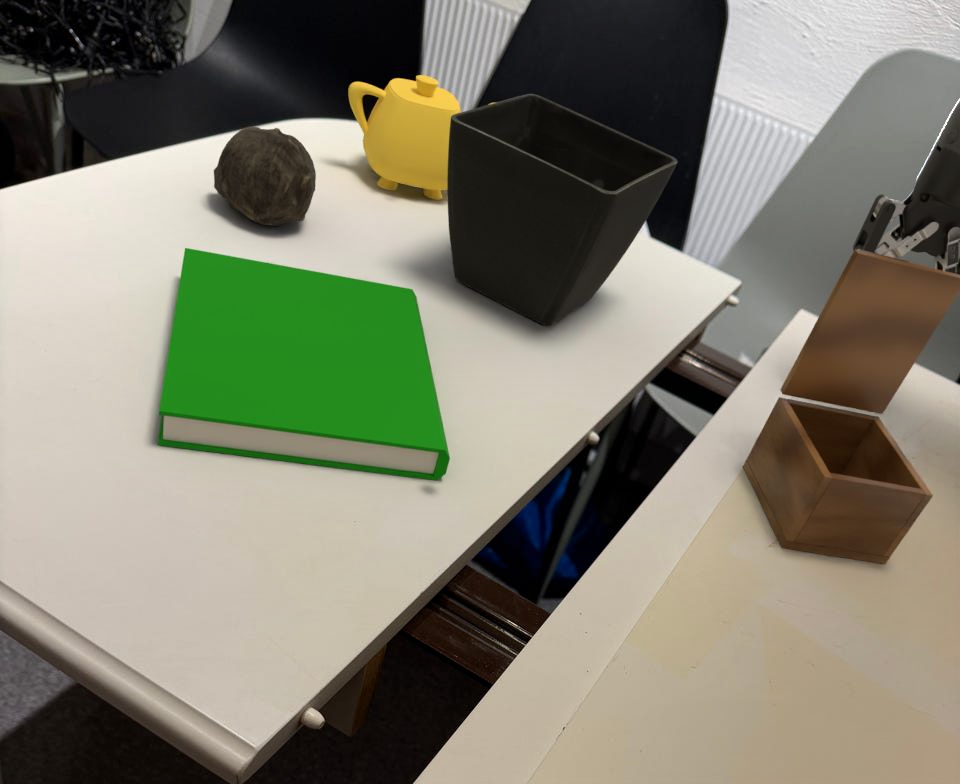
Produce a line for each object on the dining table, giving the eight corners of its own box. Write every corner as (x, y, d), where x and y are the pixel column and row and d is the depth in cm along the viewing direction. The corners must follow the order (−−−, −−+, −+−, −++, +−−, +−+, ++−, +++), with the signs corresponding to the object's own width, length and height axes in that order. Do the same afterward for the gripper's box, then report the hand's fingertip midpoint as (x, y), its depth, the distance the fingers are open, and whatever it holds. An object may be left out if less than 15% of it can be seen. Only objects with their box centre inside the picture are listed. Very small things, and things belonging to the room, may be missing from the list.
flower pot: (559, 351, 103) (614, 190, 91) (412, 275, 106) (447, 112, 95) (626, 304, 116) (681, 159, 105) (493, 238, 120) (532, 92, 109)
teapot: (494, 218, 125) (521, 116, 117) (340, 187, 119) (356, 77, 111) (478, 178, 134) (502, 81, 126) (334, 148, 129) (349, 43, 120)
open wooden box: (885, 564, 88) (933, 495, 83) (782, 547, 86) (824, 476, 81) (837, 482, 97) (878, 416, 92) (742, 465, 95) (778, 396, 90)
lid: (967, 279, 82) (939, 250, 86) (858, 253, 80) (835, 224, 84) (882, 414, 91) (861, 383, 95) (782, 394, 89) (764, 363, 93)
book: (157, 444, 74) (159, 411, 72) (183, 278, 93) (185, 247, 91) (443, 481, 80) (452, 450, 78) (411, 317, 99) (417, 290, 97)
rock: (228, 175, 111) (244, 88, 104) (319, 220, 112) (341, 137, 105) (190, 211, 104) (204, 121, 97) (287, 258, 106) (308, 173, 98)
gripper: (1019, 152, 99) (931, 304, 110) (896, 120, 96) (818, 280, 107) (1056, 178, 94) (960, 335, 104) (928, 145, 90) (842, 310, 101)
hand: (889, 307), depth 106 cm, fingers closed on ring, 7 cm apart
